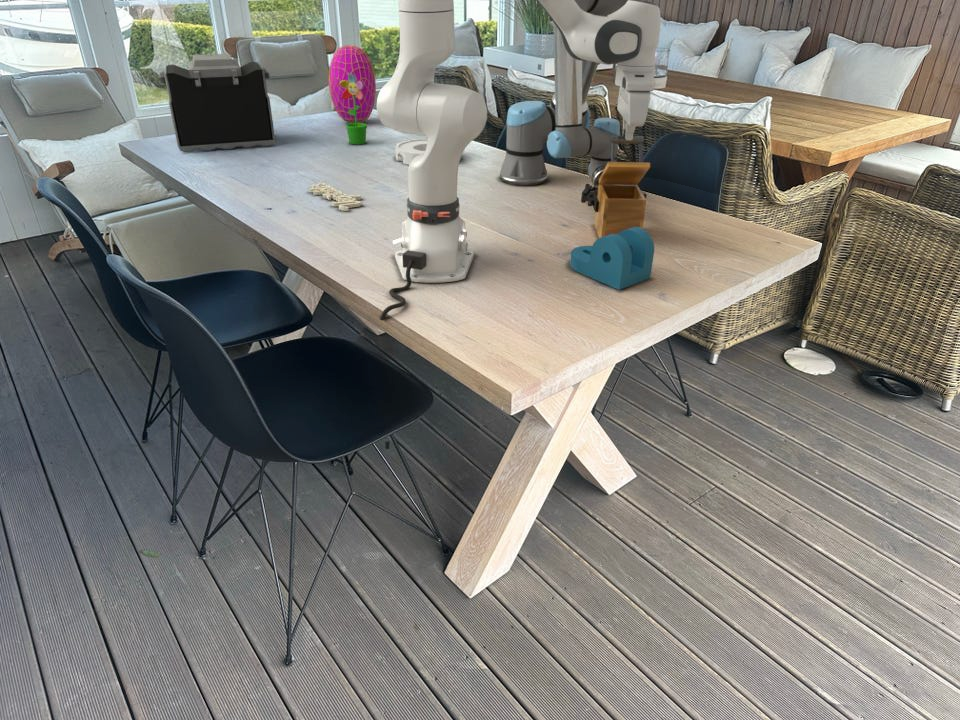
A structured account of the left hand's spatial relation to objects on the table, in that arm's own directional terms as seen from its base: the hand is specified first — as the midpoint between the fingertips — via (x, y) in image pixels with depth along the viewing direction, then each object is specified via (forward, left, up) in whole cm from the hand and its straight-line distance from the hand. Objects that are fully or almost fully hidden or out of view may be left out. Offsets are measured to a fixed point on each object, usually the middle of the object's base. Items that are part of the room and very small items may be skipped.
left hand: (627, 138), depth 168 cm
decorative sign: (+31, +77, -24) cm, 86 cm away
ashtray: (+77, +50, -24) cm, 95 cm away
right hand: (+1, 0, -18) cm, 18 cm away
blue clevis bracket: (-26, +9, -24) cm, 36 cm away
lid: (-1, 0, -9) cm, 9 cm away
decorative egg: (+136, +82, -24) cm, 161 cm away
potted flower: (+100, +77, -24) cm, 128 cm away
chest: (-1, 0, -24) cm, 24 cm away
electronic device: (+99, +127, -24) cm, 163 cm away
